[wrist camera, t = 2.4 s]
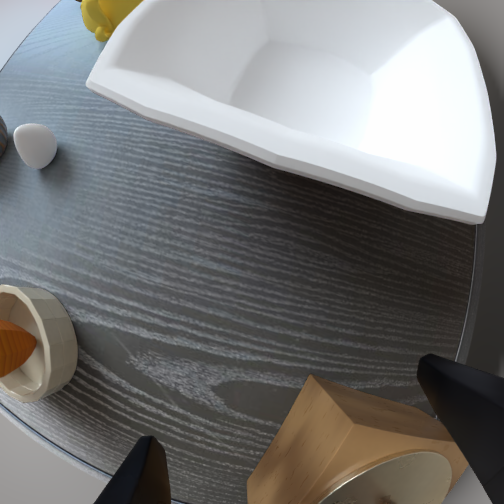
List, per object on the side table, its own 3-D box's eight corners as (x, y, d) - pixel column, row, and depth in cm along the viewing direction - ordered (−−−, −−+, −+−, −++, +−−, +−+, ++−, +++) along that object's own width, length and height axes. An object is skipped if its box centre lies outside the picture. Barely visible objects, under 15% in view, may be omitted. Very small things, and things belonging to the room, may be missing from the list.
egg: (67, 155, 21) (35, 128, 16) (38, 180, 21) (3, 158, 15) (58, 131, 21) (29, 102, 16) (31, 154, 21) (0, 131, 16)
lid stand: (354, 501, 18) (389, 558, 9) (246, 481, 18) (249, 555, 9) (415, 407, 19) (480, 444, 10) (309, 373, 19) (353, 423, 10)
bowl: (422, 73, 24) (465, 17, 14) (400, 278, 21) (498, 265, 10) (231, 6, 24) (230, -63, 14) (118, 178, 21) (49, 107, 10)
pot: (64, 409, 18) (40, 424, 14) (0, 352, 18) (-27, 357, 14) (91, 322, 19) (64, 326, 15) (21, 269, 20) (-8, 264, 16)
